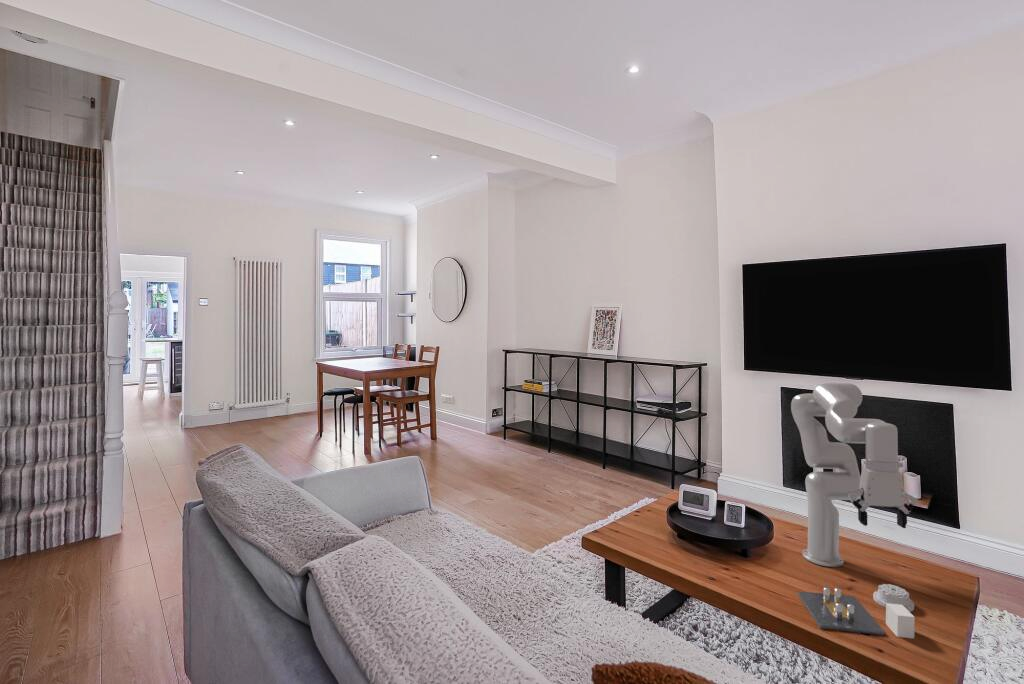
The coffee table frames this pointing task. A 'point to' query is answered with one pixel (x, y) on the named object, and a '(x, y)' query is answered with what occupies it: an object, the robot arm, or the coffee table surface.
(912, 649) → the coffee table surface
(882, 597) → the mechanical component
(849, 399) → the robot arm
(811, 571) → the coffee table surface
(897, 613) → the jaw block
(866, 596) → the coffee table surface
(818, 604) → the base plate
